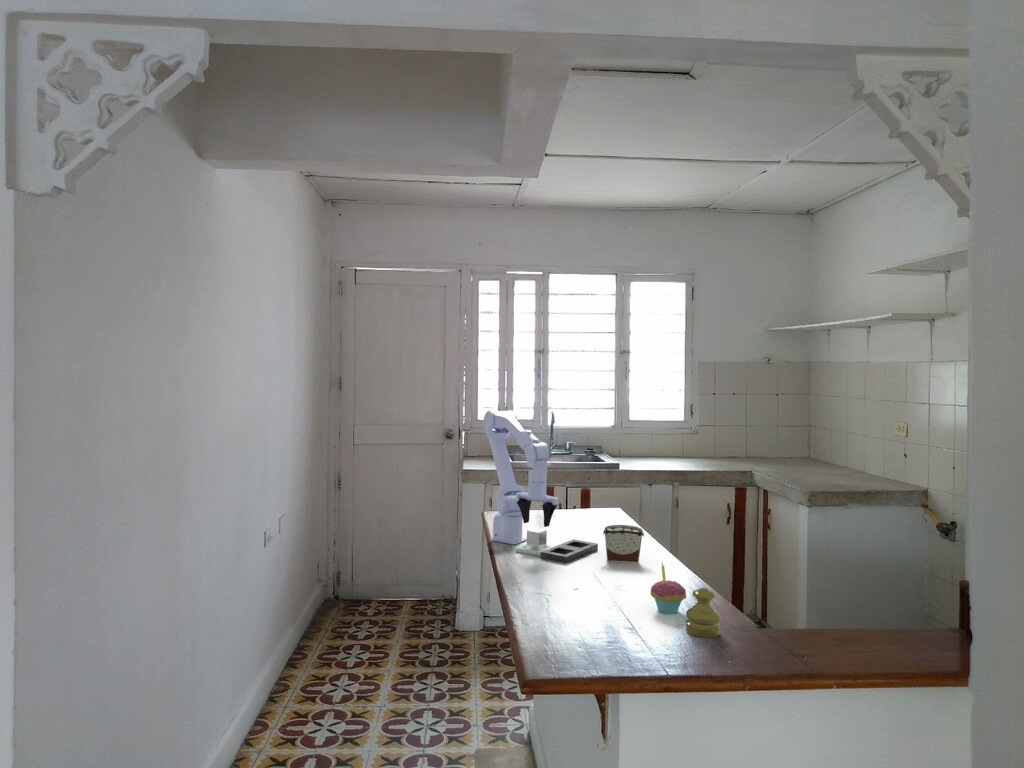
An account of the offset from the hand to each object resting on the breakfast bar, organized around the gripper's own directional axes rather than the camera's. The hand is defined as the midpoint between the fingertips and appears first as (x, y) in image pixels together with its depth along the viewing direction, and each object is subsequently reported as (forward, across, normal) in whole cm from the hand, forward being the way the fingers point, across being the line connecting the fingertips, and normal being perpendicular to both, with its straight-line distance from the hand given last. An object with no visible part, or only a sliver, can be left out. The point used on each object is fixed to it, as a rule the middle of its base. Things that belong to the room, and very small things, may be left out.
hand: (536, 524), depth 230 cm
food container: (+9, -26, -9) cm, 28 cm away
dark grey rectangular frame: (+8, -10, -4) cm, 14 cm away
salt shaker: (+8, -67, +35) cm, 76 cm away
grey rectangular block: (+8, 0, 0) cm, 8 cm away
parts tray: (+8, 0, 0) cm, 9 cm away
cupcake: (+8, -55, +26) cm, 61 cm away
